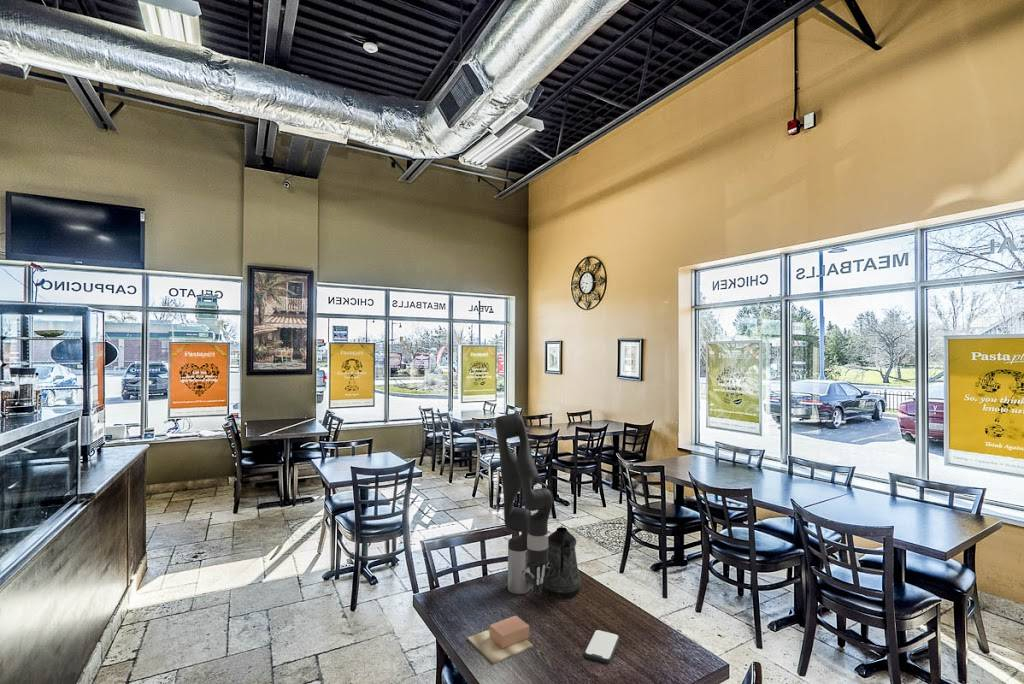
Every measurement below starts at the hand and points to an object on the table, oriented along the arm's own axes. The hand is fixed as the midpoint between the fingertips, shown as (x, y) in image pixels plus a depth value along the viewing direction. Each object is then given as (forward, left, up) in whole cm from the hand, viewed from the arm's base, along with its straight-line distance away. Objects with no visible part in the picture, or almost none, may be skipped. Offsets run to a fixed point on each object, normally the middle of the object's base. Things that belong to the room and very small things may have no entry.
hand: (537, 593), depth 175 cm
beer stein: (-26, -16, -13) cm, 33 cm away
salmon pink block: (+7, 0, -10) cm, 12 cm away
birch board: (+16, 0, -12) cm, 20 cm away
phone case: (-12, +21, -13) cm, 27 cm away
